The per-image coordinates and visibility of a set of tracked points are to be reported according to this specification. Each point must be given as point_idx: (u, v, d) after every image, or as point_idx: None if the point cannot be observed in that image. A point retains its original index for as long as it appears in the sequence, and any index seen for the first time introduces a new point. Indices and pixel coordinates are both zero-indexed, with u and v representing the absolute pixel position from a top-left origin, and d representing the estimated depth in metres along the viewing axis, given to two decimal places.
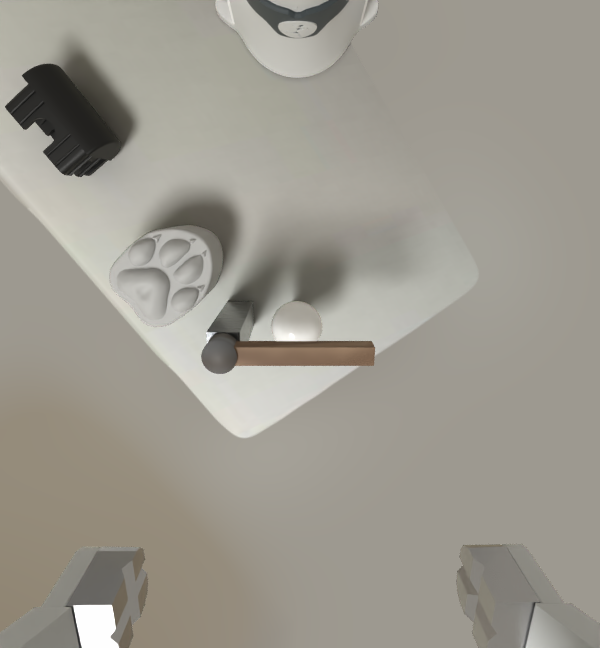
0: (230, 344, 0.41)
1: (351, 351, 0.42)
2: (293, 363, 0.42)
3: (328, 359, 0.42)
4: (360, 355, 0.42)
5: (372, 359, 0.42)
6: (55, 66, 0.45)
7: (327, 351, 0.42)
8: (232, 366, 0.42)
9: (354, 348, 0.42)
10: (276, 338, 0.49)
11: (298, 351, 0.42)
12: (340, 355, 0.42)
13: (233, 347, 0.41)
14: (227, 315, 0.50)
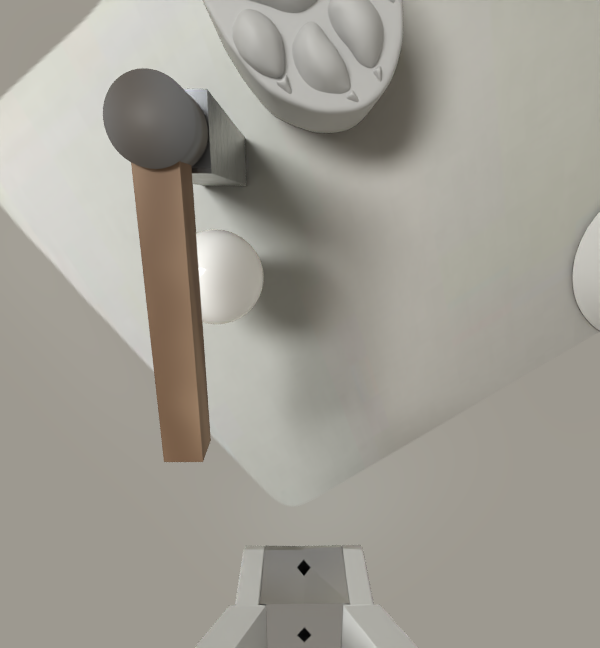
0: (186, 152, 0.17)
1: (190, 420, 0.20)
2: (152, 304, 0.19)
3: (169, 376, 0.20)
4: (182, 436, 0.21)
5: (177, 458, 0.21)
6: None
7: (187, 375, 0.20)
8: (128, 156, 0.16)
9: (196, 425, 0.20)
10: None
11: (182, 315, 0.19)
12: (180, 400, 0.20)
13: (179, 160, 0.17)
14: (231, 139, 0.25)
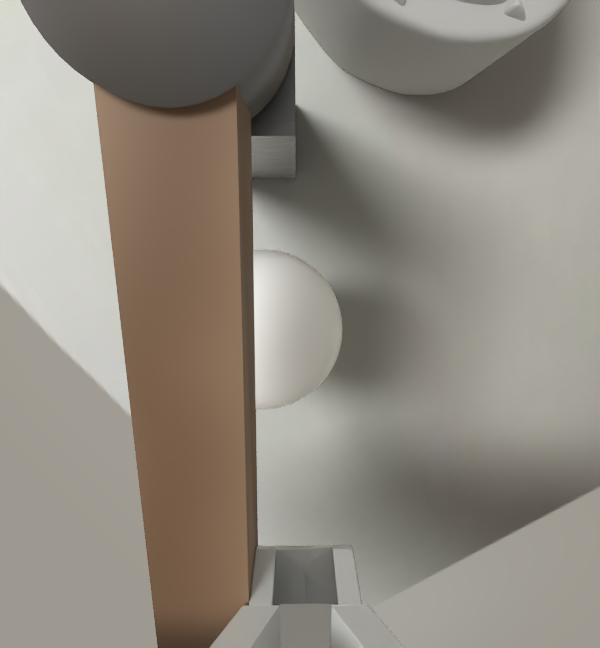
0: (259, 57, 0.06)
1: None
2: (149, 458, 0.07)
3: (187, 606, 0.08)
4: None
5: None
6: None
7: (228, 603, 0.08)
8: (83, 62, 0.05)
9: None
10: None
11: (222, 483, 0.08)
12: None
13: (237, 83, 0.06)
14: None
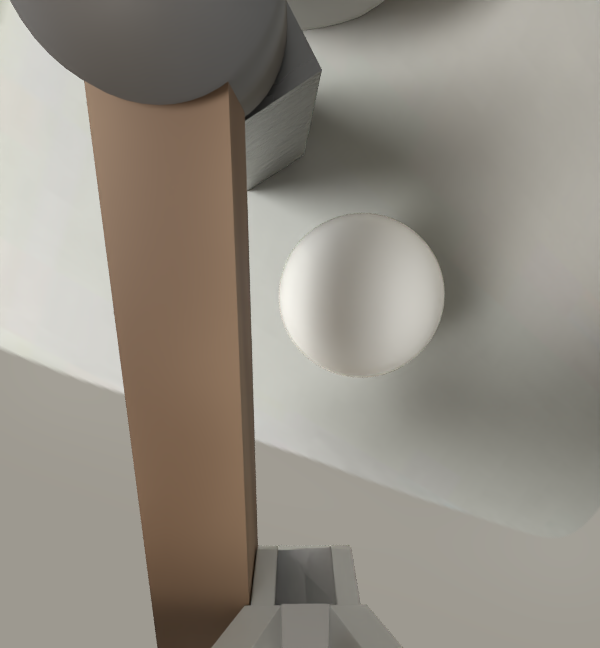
0: (251, 52, 0.05)
1: None
2: (146, 460, 0.07)
3: (187, 608, 0.08)
4: None
5: None
6: None
7: (228, 605, 0.08)
8: (73, 59, 0.05)
9: None
10: (307, 261, 0.14)
11: (221, 483, 0.08)
12: None
13: (229, 79, 0.06)
14: None
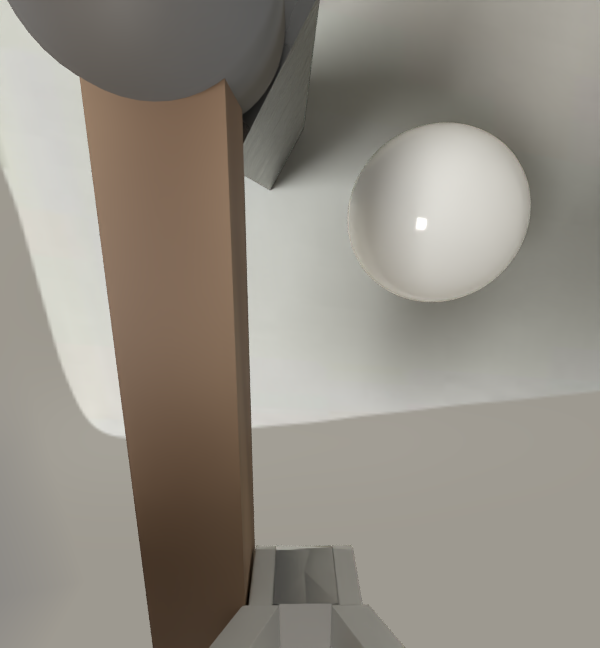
0: (248, 50, 0.05)
1: None
2: (142, 459, 0.07)
3: (183, 608, 0.08)
4: None
5: None
6: None
7: (224, 606, 0.08)
8: (68, 55, 0.05)
9: None
10: (371, 206, 0.13)
11: (216, 483, 0.07)
12: None
13: (225, 76, 0.06)
14: None
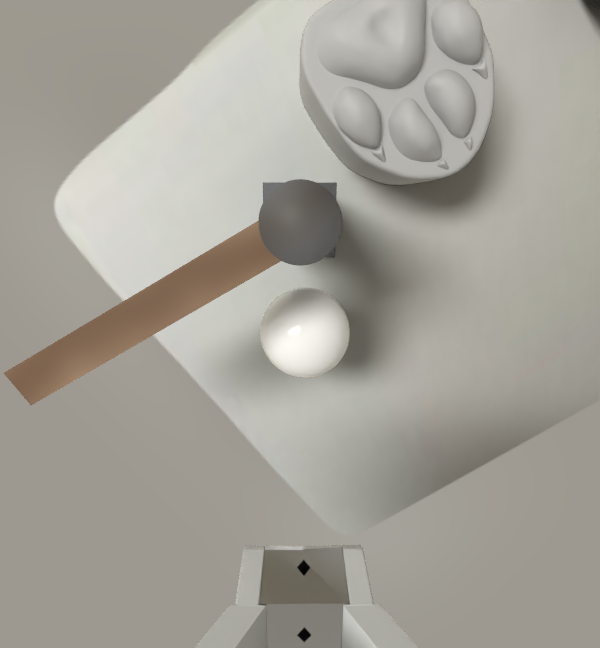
0: (292, 263, 0.18)
1: (63, 376, 0.20)
2: (147, 293, 0.19)
3: (92, 338, 0.19)
4: (41, 376, 0.20)
5: (16, 382, 0.20)
6: None
7: (104, 352, 0.19)
8: (262, 219, 0.17)
9: (62, 383, 0.20)
10: (290, 304, 0.27)
11: (155, 322, 0.19)
12: (76, 358, 0.19)
13: (282, 260, 0.18)
14: None
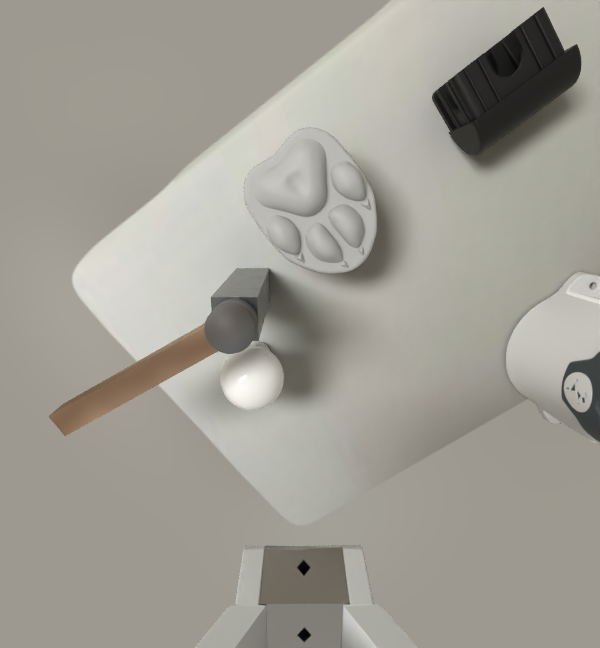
0: (225, 352, 0.30)
1: (85, 418, 0.32)
2: (138, 369, 0.30)
3: (104, 395, 0.31)
4: (72, 418, 0.32)
5: (56, 422, 0.32)
6: (571, 86, 0.37)
7: (111, 403, 0.31)
8: (206, 328, 0.29)
9: (85, 422, 0.32)
10: (239, 361, 0.38)
11: (143, 386, 0.31)
12: (94, 407, 0.31)
13: (220, 350, 0.30)
14: (264, 292, 0.39)
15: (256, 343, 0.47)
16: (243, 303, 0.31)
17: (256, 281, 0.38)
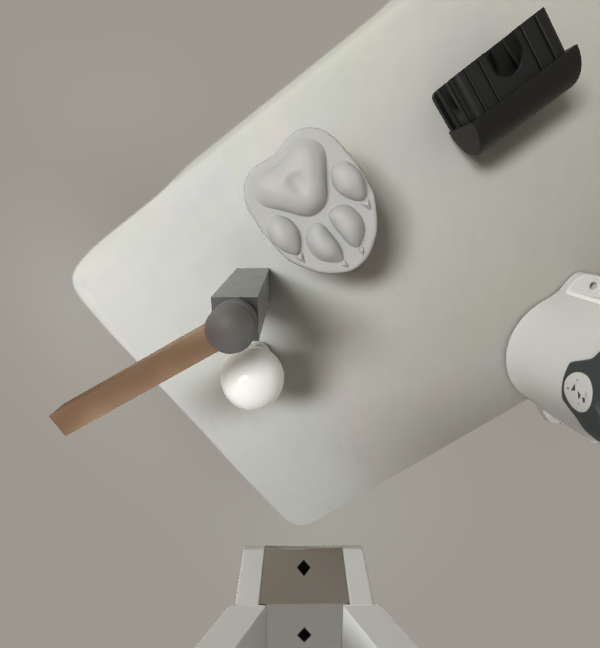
0: (226, 352, 0.30)
1: (86, 418, 0.32)
2: (138, 369, 0.30)
3: (104, 395, 0.31)
4: (72, 418, 0.32)
5: (56, 422, 0.32)
6: (571, 86, 0.37)
7: (112, 403, 0.31)
8: (206, 328, 0.29)
9: (85, 422, 0.32)
10: (239, 361, 0.38)
11: (143, 386, 0.31)
12: (94, 407, 0.31)
13: None
14: (264, 292, 0.39)
15: (256, 343, 0.47)
16: (243, 303, 0.31)
17: (256, 281, 0.38)
